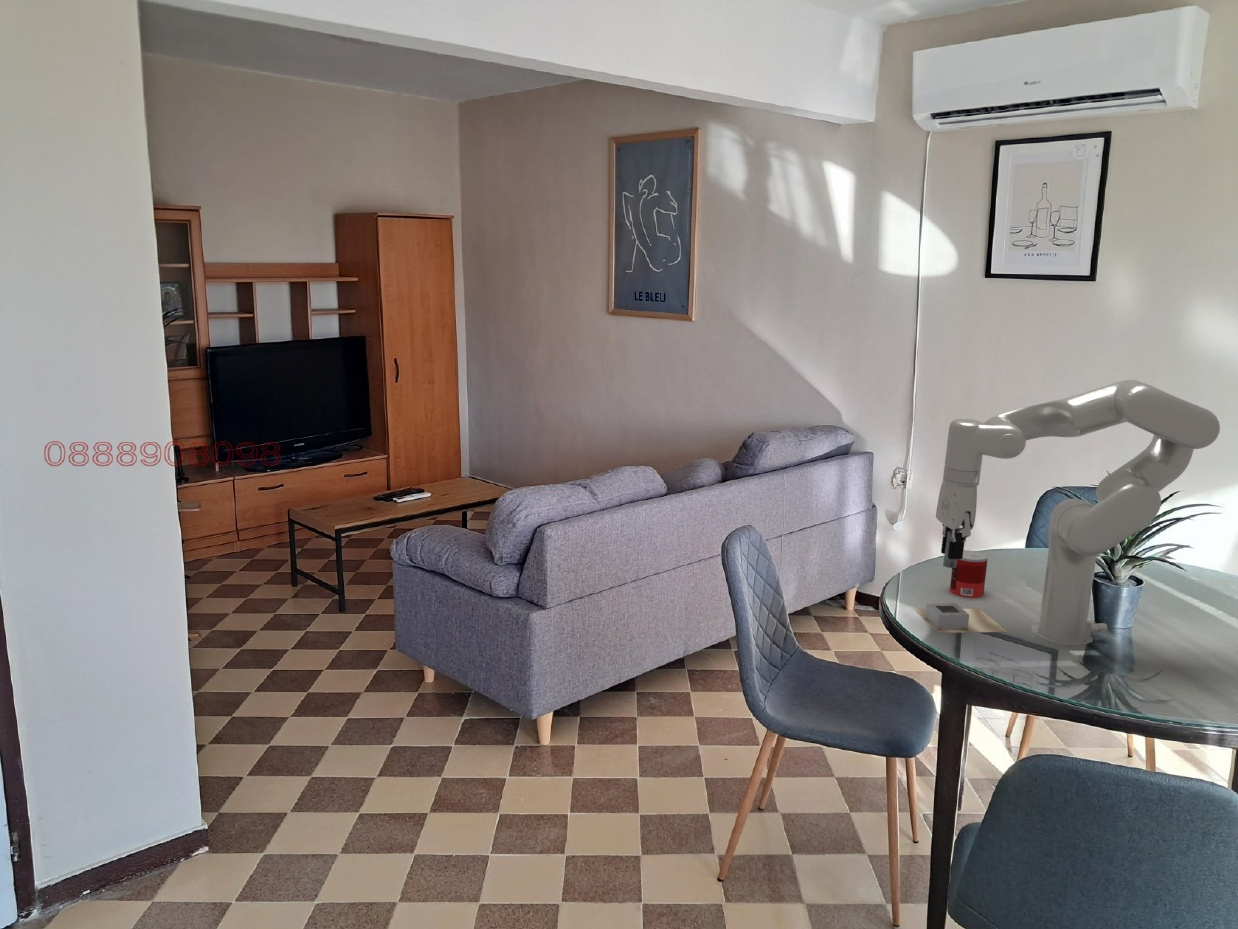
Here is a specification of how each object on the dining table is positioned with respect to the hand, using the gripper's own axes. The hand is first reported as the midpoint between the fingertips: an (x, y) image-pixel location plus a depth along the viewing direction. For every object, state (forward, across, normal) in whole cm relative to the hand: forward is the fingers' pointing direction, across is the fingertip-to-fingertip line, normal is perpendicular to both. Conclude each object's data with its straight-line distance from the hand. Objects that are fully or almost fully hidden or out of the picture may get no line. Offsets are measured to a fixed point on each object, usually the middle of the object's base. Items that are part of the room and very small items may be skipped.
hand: (951, 555), depth 212 cm
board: (+17, -2, +5) cm, 18 cm away
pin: (+2, 0, 0) cm, 2 cm away
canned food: (+17, -20, +15) cm, 30 cm away
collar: (+16, 0, +1) cm, 16 cm away
